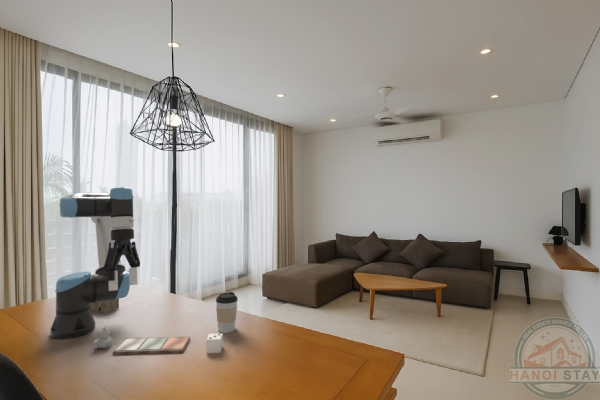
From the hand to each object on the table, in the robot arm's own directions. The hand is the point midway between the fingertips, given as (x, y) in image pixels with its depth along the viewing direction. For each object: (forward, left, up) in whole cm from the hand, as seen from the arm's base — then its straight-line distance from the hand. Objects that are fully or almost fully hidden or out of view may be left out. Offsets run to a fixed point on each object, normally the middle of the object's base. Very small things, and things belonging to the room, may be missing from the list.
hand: (124, 287), depth 119 cm
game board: (+10, +2, -23) cm, 25 cm away
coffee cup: (+35, +16, -23) cm, 45 cm away
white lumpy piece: (-8, +2, -23) cm, 24 cm away
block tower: (-34, +47, -23) cm, 63 cm away
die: (+33, -2, -23) cm, 40 cm away
